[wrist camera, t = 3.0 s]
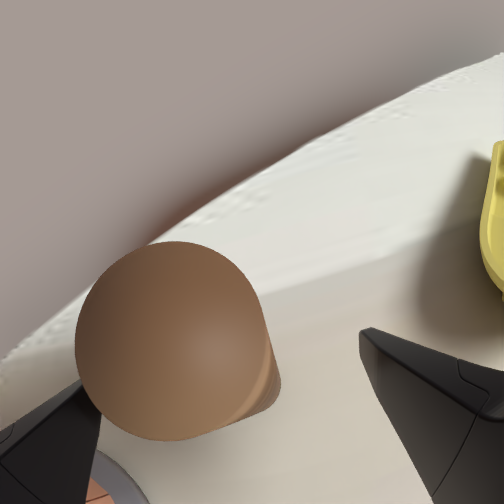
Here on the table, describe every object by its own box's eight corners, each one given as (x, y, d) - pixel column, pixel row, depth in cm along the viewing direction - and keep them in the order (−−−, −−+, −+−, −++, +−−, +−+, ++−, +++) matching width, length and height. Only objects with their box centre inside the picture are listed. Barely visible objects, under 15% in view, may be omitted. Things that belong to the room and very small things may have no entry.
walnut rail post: (281, 413, 14) (265, 450, 4) (216, 412, 15) (67, 418, 4) (280, 352, 16) (264, 235, 5) (218, 353, 17) (94, 247, 6)
